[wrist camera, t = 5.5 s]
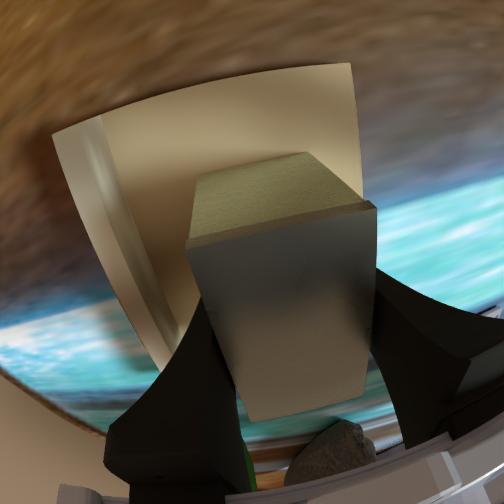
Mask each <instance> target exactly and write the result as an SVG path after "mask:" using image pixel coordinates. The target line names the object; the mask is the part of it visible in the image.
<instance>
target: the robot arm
mask: <svg viewBox="0 0 504 504" xmlns="http://www.w3.org/2000/svg"><path fill="white" fill-rule="evenodd" d="M501 311H502V309H501V308H500V307H499V306H498V307H495V308H493V309H491V310H489V311H487V312H485V313H483V314H481V315H479V314H475V313H471V312H467V311H464V310H460V309H458V308H455V307H452V306H449V305H446V304H444V303H441V302H438V301H436V300H434V299H432V298H429V297H427V296H425V295H423V294H421V293H419V292H417V291H415V290H413V289H411V288H409V287H408V286H406V285H404V284H402V283H401V282H399V281H397V280H395V279H394V278H392V277H391V276H389V275H387V274H386V273H384V272H383V271H381V270H379V269H378V268H376V280H375V297H374V310H373V322H372V333H371V342H370V352H371V353H372V355H373V357H374V359H375V361H376V363H377V365H378V367H379V369H380V371H381V374H382V376H383V379H384V381H385V384H386V386H387V389H388V392H389V395H390V398H391V401H392V403H393V406H394V409H395V413H396V416H397V419H398V422H399V426H400V429H401V433H402V437H403V441H404V445H405V449H406V450H405V451H403V452H401V453H398V454H396V455H393V456H390V457H388V458H385V459H382V460H380V461H377V462H374V463H371V464H368V465H365V466H362V467H359V468H356V469H353V470H350V471H346V472H343V473H339V474H336V475H332V476H329V477H325V478H321V479H317V480H313V481H309V482H305V483H300V484H296V485H291V486H286V487H281V488H275V489H270V490H264V491H257V492H252V488H251V483H250V478H249V474H248V469H247V464H246V459H245V454H244V448H243V443H242V437H241V431H240V425H239V418H238V412H237V404H236V386H235V383H234V381H233V379H232V376H231V374H230V371H229V369H228V366H227V364H226V361H225V359H224V356H223V354H222V351H221V348H220V346H219V343H218V341H217V338H216V335H215V333H214V330H213V327H212V325H211V322H210V319H209V317H208V314H207V311H206V309H205V306H204V303H203V300H202V298H201V296H200V299H199V302H198V305H197V307H196V310H195V312H194V314H193V317H192V319H191V321H190V323H189V326H188V328H187V330H186V332H185V334H184V336H183V338H182V340H181V341H180V343H179V345H178V347H177V349H176V351H175V352H174V354H173V356H172V357H171V359H170V360H169V362H168V363H167V365H166V366H165V368H164V369H163V371H162V372H161V373H160V375H159V376H158V377H157V379H156V380H155V381H154V383H153V384H152V385H151V386H150V388H149V389H148V390H147V391H146V392H145V393H144V394H143V395H142V396H141V397H140V399H139V400H138V401H137V402H136V403H135V404H134V405H133V406H132V407H130V408H129V409H128V410H127V411H126V412H125V413H124V414H123V415H121V416H120V417H119V418H118V419H117V420H116V421H115V422H113V423H112V424H111V425H110V426H109V430H108V433H107V438H106V445H105V452H104V460H103V463H104V465H105V467H106V468H107V469H108V470H109V471H110V472H111V473H113V474H114V475H116V476H117V477H119V478H120V479H122V480H123V481H125V482H126V483H128V484H130V491H129V498H124V497H111V496H101V495H100V494H99V493H97V492H96V491H94V490H92V489H89V488H84V487H79V486H72V485H65V484H60V485H59V491H58V498H57V504H504V319H499V316H500V314H501Z"/></svg>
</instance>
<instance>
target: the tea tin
mask: <svg viewBox="0 0 504 504" xmlns="http://www.w3.org/2000/svg"><path fill="white" fill-rule="evenodd" d="M185 252H186V255H187V258H188V261H189V264H190V266H191V269H192V272H193V275H194V278H195V281H196V284H197V286H198V289H199V292H200V295H201V298H202V300H203V303H204V306H205V309H206V311H207V314H208V317H209V319H210V322H211V325H212V327H213V330H214V333H215V335H216V338H217V341H218V343H219V346H220V348H221V351H222V354H223V356H224V359H225V361H226V364H227V366H228V369H229V371H230V374H231V376H232V379H233V381H234V383H235V386H236V388H237V391H238V393H239V396H240V398H241V400H242V403H243V405H244V407H245V410H246V412H247V414H248V417H249V419H250V421H251V423H253V422H258V421H264V420H269V419H274V418H279V417H284V416H288V415H293V414H297V413H301V412H305V411H310V410H314V409H318V408H321V407H325V406H329V405H333V404H336V403H340V402H343V401H347V400H350V399H353V398H357V397H360V396H363V395H364V388H365V382H366V375H367V367H368V359H369V351H370V342H371V333H372V322H373V310H374V297H375V280H376V257H377V208H376V207H375V206H374V205H373V204H372V203H371V202H370V201H369V200H367V201H365V200H364V199H362V198H361V197H360V196H359V195H358V194H357V193H356V192H355V191H354V190H353V189H351V188H350V187H349V186H348V185H347V184H346V183H345V182H343V181H342V180H341V179H340V178H339V177H338V176H337V175H335V174H334V173H333V172H332V171H331V170H330V169H328V168H327V167H326V166H325V165H324V164H322V163H321V162H320V161H319V160H318V159H316V158H315V157H314V156H313V155H312V154H310V153H309V152H304V153H298V154H292V155H287V156H281V157H276V158H271V159H266V160H261V161H256V162H251V163H246V164H242V165H237V166H232V167H228V168H223V169H219V170H215V171H210V172H206V173H202V174H198V178H197V185H196V191H195V198H194V205H193V212H192V219H191V227H190V234H189V239H186V244H185Z"/></svg>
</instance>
